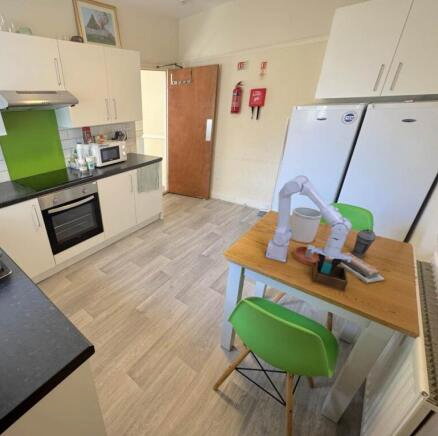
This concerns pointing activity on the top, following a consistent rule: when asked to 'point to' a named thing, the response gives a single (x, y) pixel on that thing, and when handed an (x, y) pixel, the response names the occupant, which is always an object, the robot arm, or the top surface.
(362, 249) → the beverage cup
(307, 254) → the silver packet
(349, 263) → the packaged product
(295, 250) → the bowl
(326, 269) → the teal packet
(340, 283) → the box
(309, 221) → the utensil holder
